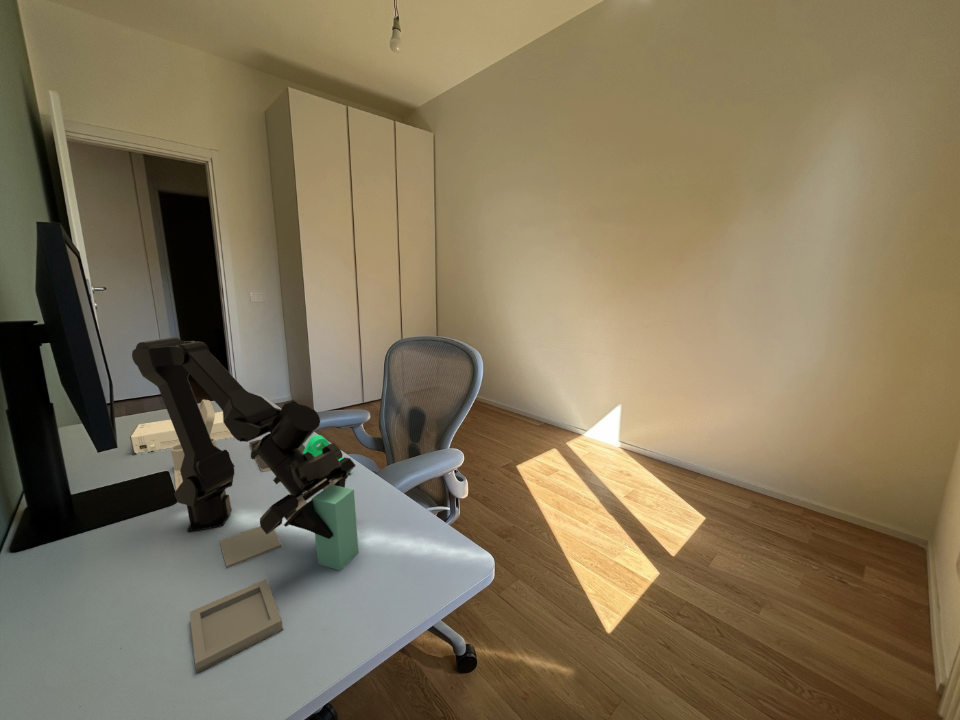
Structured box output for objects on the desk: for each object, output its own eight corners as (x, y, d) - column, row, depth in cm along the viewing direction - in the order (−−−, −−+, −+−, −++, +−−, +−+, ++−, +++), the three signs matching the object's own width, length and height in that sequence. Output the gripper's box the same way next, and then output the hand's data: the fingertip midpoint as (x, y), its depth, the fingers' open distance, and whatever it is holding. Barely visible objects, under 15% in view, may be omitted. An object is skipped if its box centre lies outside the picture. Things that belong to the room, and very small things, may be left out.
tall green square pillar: (317, 563, 71) (311, 498, 69) (336, 546, 76) (331, 484, 73) (340, 570, 70) (335, 504, 67) (358, 552, 74) (353, 489, 72)
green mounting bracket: (304, 491, 96) (300, 452, 93) (295, 479, 101) (291, 441, 99) (352, 475, 103) (349, 438, 101) (341, 464, 109) (338, 429, 106)
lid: (227, 571, 71) (226, 566, 70) (220, 545, 77) (219, 540, 77) (281, 549, 76) (281, 544, 76) (270, 526, 83) (270, 522, 83)
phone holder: (174, 467, 107) (162, 404, 103) (218, 456, 113) (208, 396, 109) (176, 495, 94) (163, 423, 90) (226, 481, 100) (215, 413, 96)
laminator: (264, 421, 141) (262, 405, 139) (267, 433, 130) (264, 415, 129) (141, 442, 124) (137, 424, 122) (133, 458, 113) (128, 438, 112)
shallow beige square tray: (191, 620, 60) (189, 611, 60) (267, 586, 66) (266, 578, 66) (197, 673, 52) (195, 663, 52) (282, 629, 58) (281, 620, 58)
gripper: (264, 460, 61) (328, 539, 59) (344, 418, 78) (395, 479, 76) (233, 496, 65) (293, 571, 64) (315, 449, 82) (364, 507, 81)
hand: (342, 527), depth 71 cm, fingers closed on tall green square pillar, 5 cm apart
